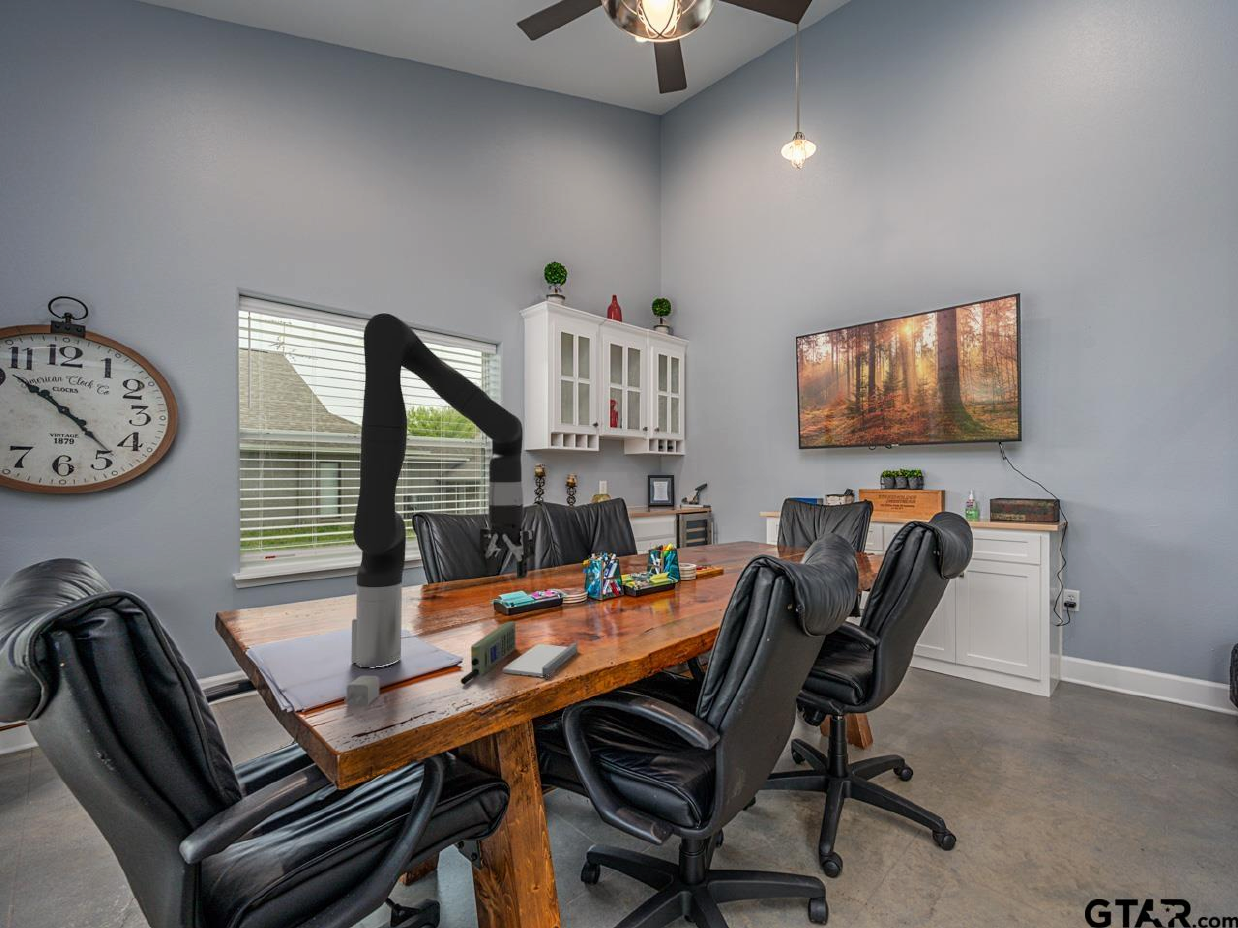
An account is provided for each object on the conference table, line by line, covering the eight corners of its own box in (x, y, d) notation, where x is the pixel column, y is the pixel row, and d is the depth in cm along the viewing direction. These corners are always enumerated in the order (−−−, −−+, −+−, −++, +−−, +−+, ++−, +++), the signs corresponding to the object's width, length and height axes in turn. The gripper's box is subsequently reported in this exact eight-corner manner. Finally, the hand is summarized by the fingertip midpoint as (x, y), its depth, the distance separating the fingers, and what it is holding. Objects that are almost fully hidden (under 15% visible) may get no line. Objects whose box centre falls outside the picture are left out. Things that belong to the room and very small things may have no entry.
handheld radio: (518, 649, 139) (471, 688, 115) (505, 649, 140) (456, 687, 115) (517, 621, 139) (471, 654, 115) (504, 621, 140) (455, 653, 115)
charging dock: (502, 672, 123) (502, 662, 123) (538, 647, 140) (538, 638, 140) (546, 677, 120) (546, 667, 120) (577, 651, 138) (577, 642, 138)
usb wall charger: (379, 697, 109) (379, 675, 109) (361, 713, 102) (361, 690, 102) (358, 696, 109) (358, 675, 109) (338, 712, 102) (339, 689, 102)
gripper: (470, 503, 130) (471, 576, 130) (519, 504, 122) (520, 582, 122) (494, 501, 136) (495, 571, 136) (542, 502, 129) (543, 576, 129)
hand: (507, 576), depth 129 cm, fingers open, 8 cm apart
